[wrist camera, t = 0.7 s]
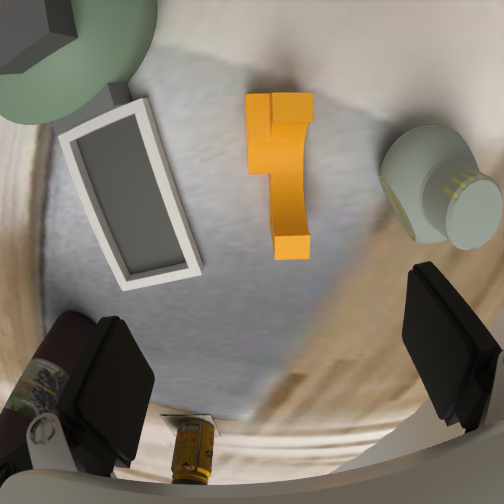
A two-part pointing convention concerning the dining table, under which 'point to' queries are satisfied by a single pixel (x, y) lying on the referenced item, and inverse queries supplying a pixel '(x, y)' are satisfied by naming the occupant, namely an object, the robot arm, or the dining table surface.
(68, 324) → the wine bottle
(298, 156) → the pipe clamp
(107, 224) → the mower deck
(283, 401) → the dining table surface
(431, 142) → the air freshener
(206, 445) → the condiment
